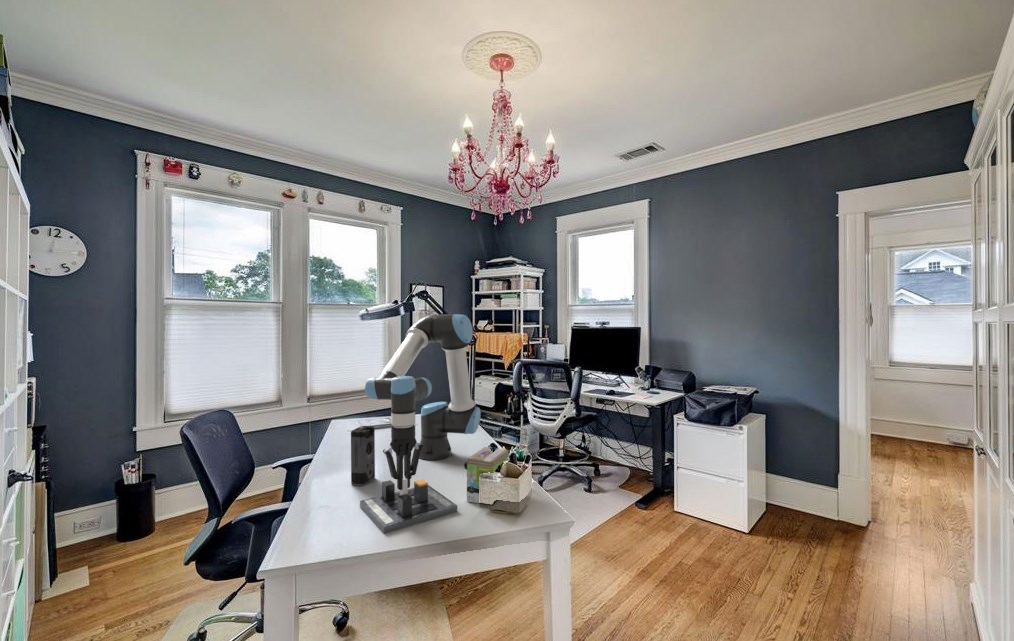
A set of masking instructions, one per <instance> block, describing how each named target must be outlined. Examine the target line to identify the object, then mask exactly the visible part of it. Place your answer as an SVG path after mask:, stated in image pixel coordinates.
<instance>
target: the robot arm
mask: <svg viewBox="0 0 1014 641" xmlns="http://www.w3.org/2000/svg"><path fill="white" fill-rule="evenodd" d="M473 332H474V331H473V325H472V322H471V320H470V318H469V317H468V316H467V315H466V314H458V313H451V314H450V313H447V314H428V315H426V316H423V317H422V318H420V319H419V320H417V321H416V322H414V324H413V325H411V327H409V329H408V330H407V332H406V333H405V338H404V340H403V341H402V343H401V344H400V346H399V347H398V348H397V350H396V352H395V353H394V354H393V356H392V357H391V359H390V360H389V362H388V363H386V365H385V367H384V368H383V370H382V371H381V373H379V375H378V377H376V376H374V377H370V378H368V379H367V380H366V382H365V386H364V393H365V395H366V397H367V398H368V399H372V400H378V401H381V400H383V401H386V400H387V401H390V402H391V411H390V414H391V415H390V417H391V418H390V425H392V426H391V429H390V430H391V431H390V432H391V433H390V434H391V435H390V438H391V441H390V444H389V446H388V447H387V448H384V449H383V450H382V453H383V454H384V456H385V457H386V460H387V464H388V470H389V473H390V477H391V478H393V479H394V480H396V482H397V484H396V488H397V490H399V491H400V495H404V494H408V489H411V488H410V487H411V479H412V477H413V476H415V475H416V474H417V470H418V465H419V460H420V459H421V460H425V461H437V460H444V459H447V458H448V457H450V456H452V446H451V444H450V441H449V438H448V434H463V435H473V434H475V433H476V432H477V431H478V428H479V426H480V421H481V408H480V407H478V406H476V403H475V401H474V400H473V399H472V398H471V397H472V396H471V388H470V379H469V378H470V377H469V368H468V360H467V350H466V349H467V348H468V347H469V345H470V344H469V343H470V342H472V340H473ZM430 343H440V347H441V348H440V349H442V350H443V351H444V352H445V359H446V368H447V377H448V383H449V384H448V386H449V394H450V402H449V404H448V402H447V401H436V402H431V403H427V404H424V405H423V406H422V407H421V410H420V424H421V425H420V436H421V437H420V441H419V442H418V441H417V439H416V403H418V402H420V401H423V400H425V399H427V398H428V397H430V395H431V394H432V390H433V386H432V383H431V381H430V380H429V379H428V378H426V377H416V378H415V377H414V376H411V375H406V374H407V372H408V370H409V369H410V368H411V366H412V365H413V363H414V362H415V360H416V358H417V357H418V355H419V353H420V352H421V351H422V349H424V348H425V347H427V346H428V344H430ZM412 451H413V453H412ZM393 452H394V453H395V457H396V465H395V461H394V457H393V455H392V454H393Z"/></svg>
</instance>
